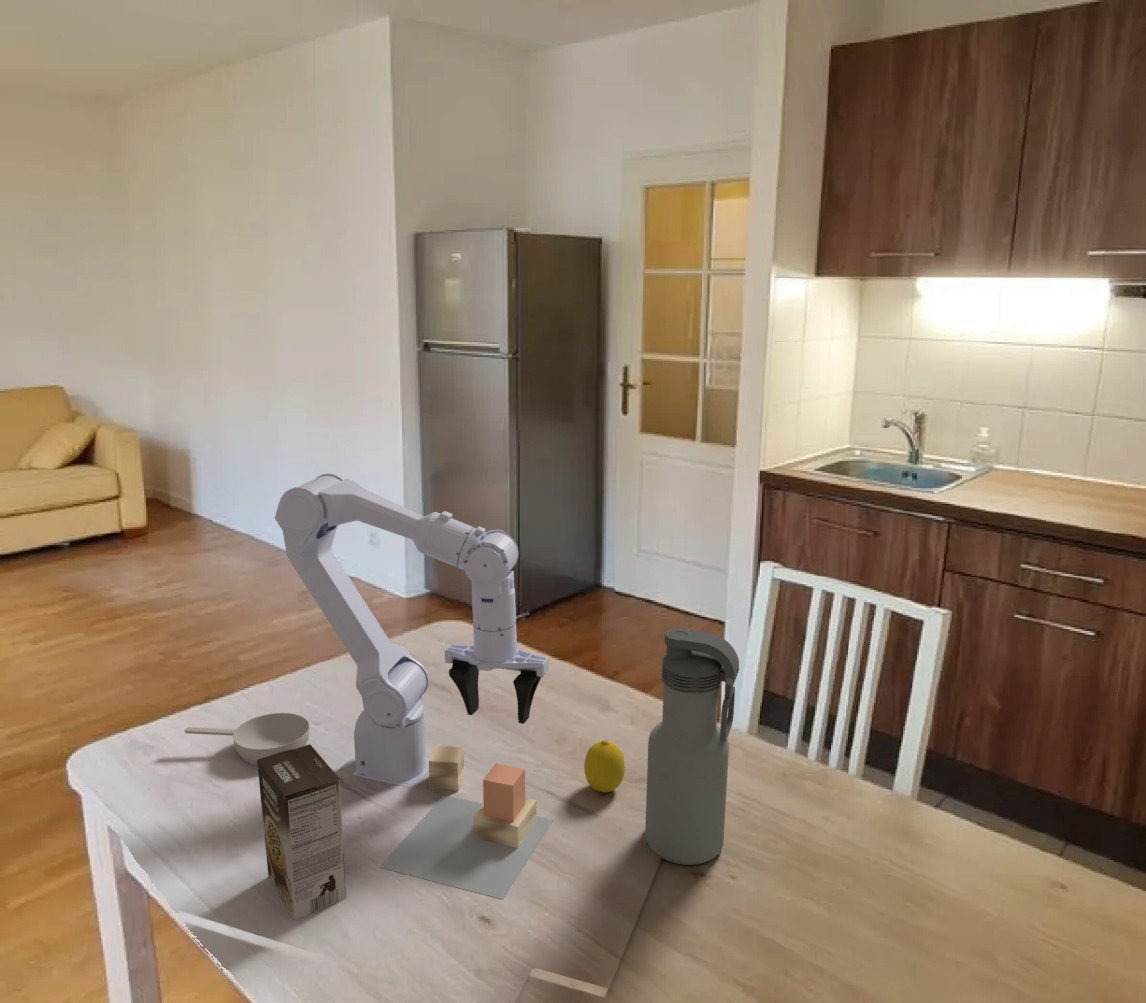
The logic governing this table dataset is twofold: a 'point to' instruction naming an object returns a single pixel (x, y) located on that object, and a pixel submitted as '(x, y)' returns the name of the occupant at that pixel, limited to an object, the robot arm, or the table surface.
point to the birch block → (446, 768)
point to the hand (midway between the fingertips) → (498, 716)
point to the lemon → (604, 766)
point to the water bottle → (691, 749)
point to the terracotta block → (504, 792)
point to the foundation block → (506, 826)
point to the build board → (462, 851)
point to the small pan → (264, 735)
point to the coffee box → (302, 829)
